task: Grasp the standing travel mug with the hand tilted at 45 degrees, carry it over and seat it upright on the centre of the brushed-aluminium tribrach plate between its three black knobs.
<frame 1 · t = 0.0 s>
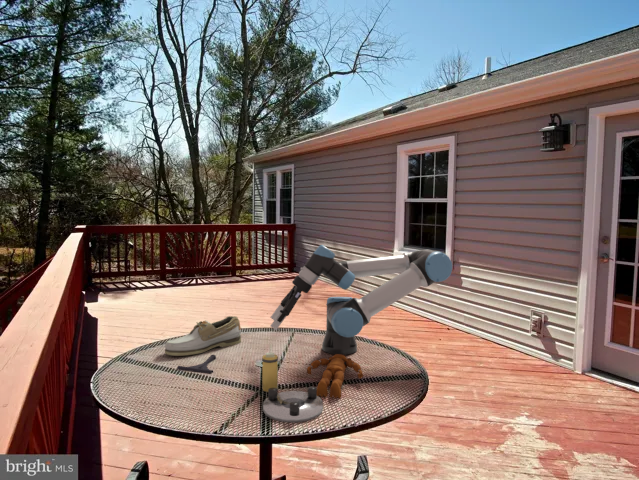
hand: (273, 323, 168), 15 cm above the table, tool tilted 35°, fingers open, 13 cm apart
boat shoe: (205, 349, 185), on the table
travel mug: (269, 388, 143), on the table
toy: (335, 381, 151), on the table
tribrach: (293, 408, 129), on the table
bracket: (204, 367, 165), on the table
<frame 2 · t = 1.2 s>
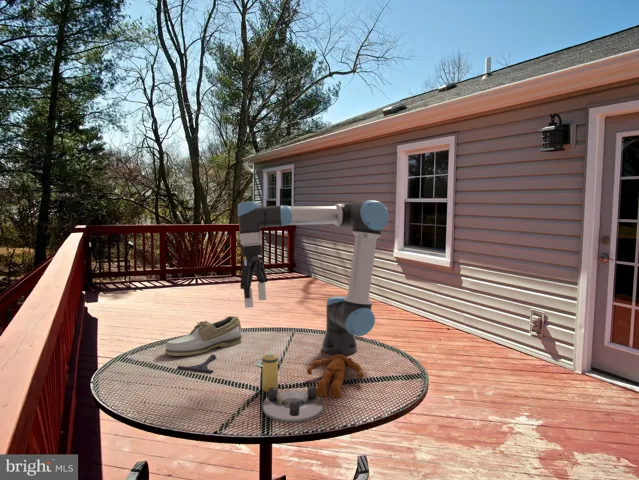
hand: (256, 303, 154), 26 cm above the table, tool pointing down, fingers open, 13 cm apart
nothing on the table moved.
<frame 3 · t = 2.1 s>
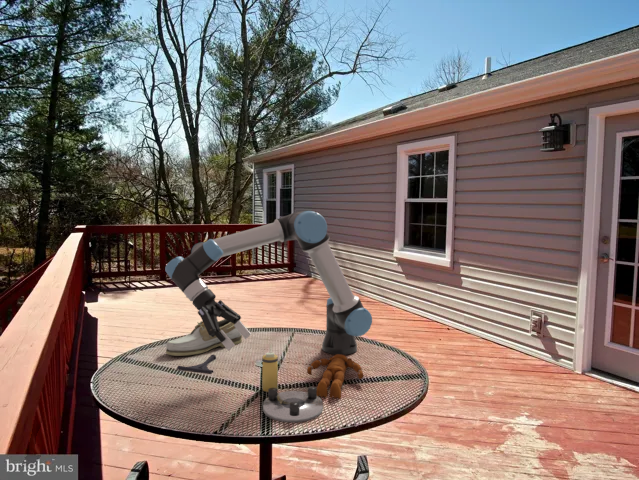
hand: (240, 342, 144), 15 cm above the table, tool tilted 45°, fingers open, 13 cm apart
nothing on the table moved.
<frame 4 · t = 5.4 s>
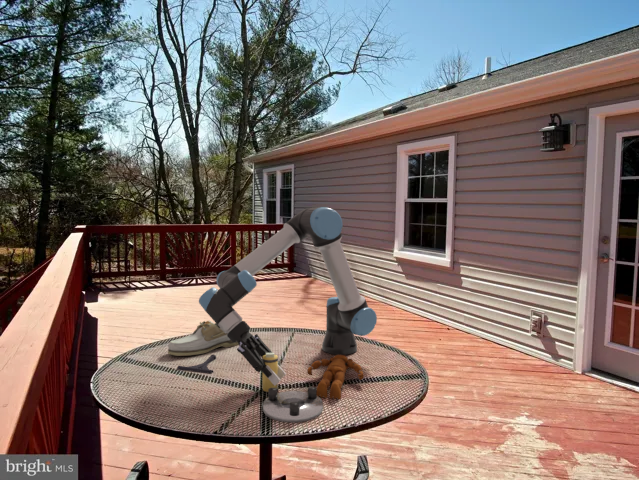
hand: (280, 379, 142), 3 cm above the table, tool tilted 45°, fingers closed on travel mug, 5 cm apart
travel mug: (269, 388, 143), on the table, touching gripper
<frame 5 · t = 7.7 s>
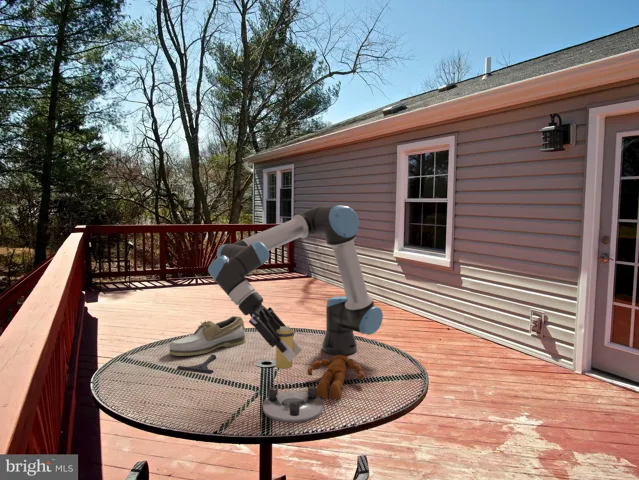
hand: (296, 355, 130), 15 cm above the table, tool tilted 45°, fingers closed on travel mug, 5 cm apart
travel mug: (284, 365, 131), point 12 cm above the table, touching gripper
when the fingers open (6 cm above the table, at t = 10.0 s): travel mug drops 1 cm, resting on tribrach.
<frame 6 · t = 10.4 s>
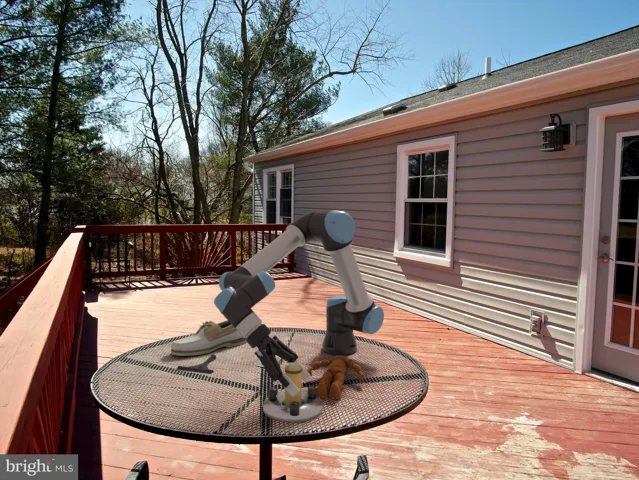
hand: (302, 385, 128), 7 cm above the table, tool tilted 45°, fingers open, 11 cm apart
travel mug: (293, 402, 129), point 2 cm above the table, touching tribrach
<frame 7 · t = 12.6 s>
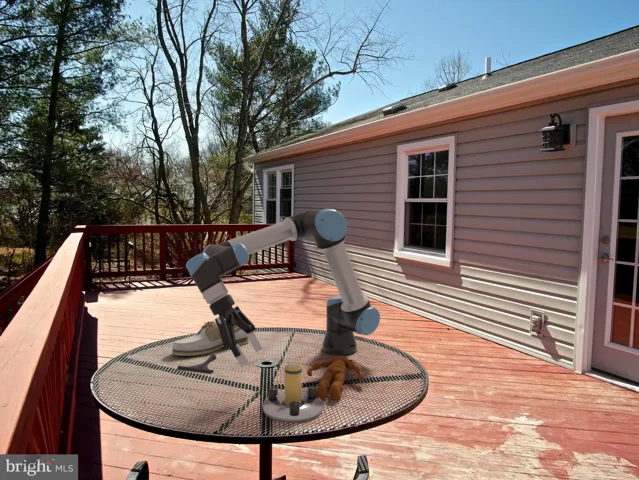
hand: (252, 357, 135), 13 cm above the table, tool tilted 30°, fingers open, 13 cm apart
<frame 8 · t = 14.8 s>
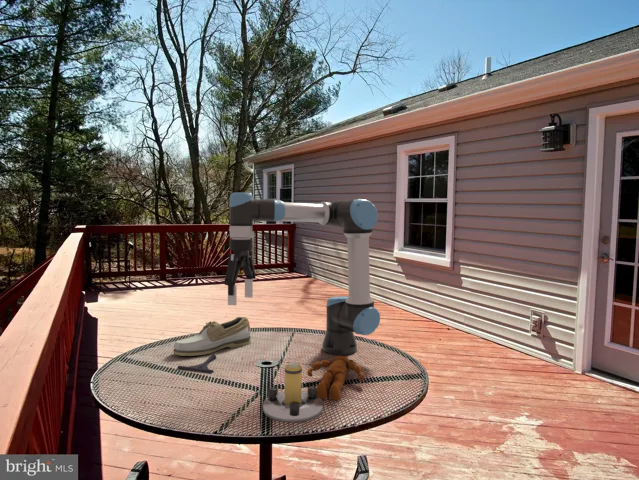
hand: (240, 301, 145), 29 cm above the table, tool pointing down, fingers open, 13 cm apart
at the end: travel mug 0.1 cm from the tribrach (horizontally); travel mug tilted 0°; travel mug point 1.6 cm above the table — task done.
